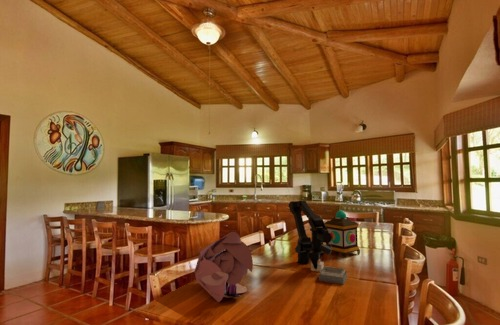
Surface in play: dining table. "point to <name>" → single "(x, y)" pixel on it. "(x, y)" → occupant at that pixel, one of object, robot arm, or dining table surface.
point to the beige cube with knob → (318, 266)
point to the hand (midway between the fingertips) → (317, 267)
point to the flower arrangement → (224, 267)
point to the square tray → (333, 275)
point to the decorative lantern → (343, 234)
